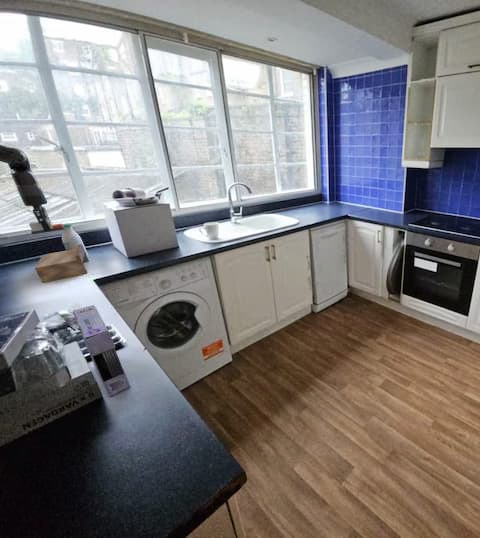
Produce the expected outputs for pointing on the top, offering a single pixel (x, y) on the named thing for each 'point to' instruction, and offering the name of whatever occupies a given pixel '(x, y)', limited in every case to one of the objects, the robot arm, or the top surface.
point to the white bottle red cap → (39, 229)
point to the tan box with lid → (62, 264)
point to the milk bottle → (71, 238)
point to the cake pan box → (101, 349)
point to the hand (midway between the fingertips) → (48, 230)
